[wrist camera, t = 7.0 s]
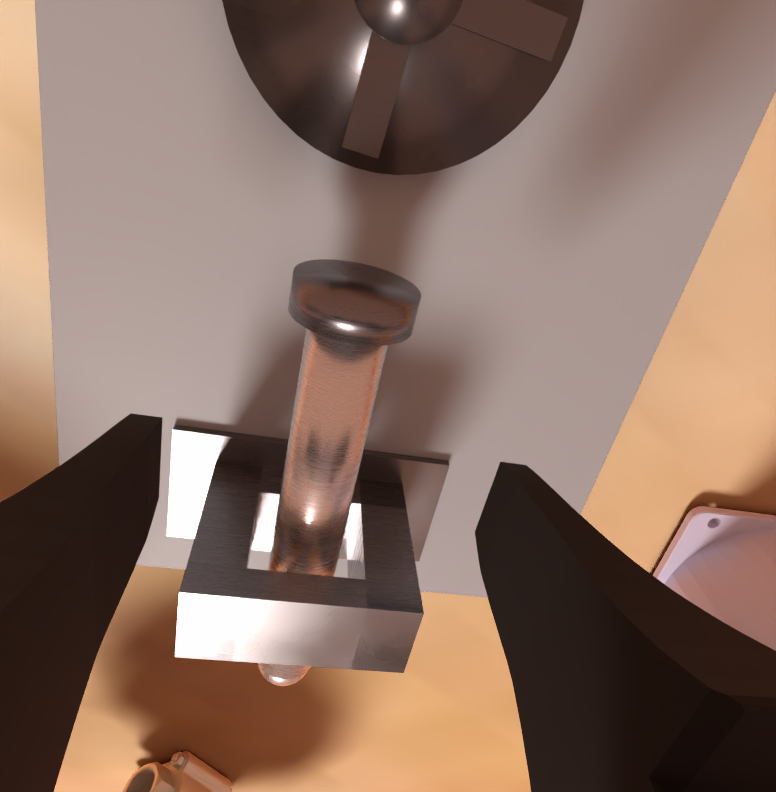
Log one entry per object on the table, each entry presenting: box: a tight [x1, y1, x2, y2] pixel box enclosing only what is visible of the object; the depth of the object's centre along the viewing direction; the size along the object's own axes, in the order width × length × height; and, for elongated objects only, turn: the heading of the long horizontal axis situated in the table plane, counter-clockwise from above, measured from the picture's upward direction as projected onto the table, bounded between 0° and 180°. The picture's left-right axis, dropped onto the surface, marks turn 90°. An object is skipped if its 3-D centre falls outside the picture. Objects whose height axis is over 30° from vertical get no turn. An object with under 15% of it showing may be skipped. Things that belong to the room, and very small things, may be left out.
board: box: [35, 0, 776, 597], centre depth 18 cm, size 18×24×1 cm
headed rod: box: [257, 259, 421, 686], centre depth 17 cm, size 3×14×3 cm, turn 168°
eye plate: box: [167, 425, 449, 673], centre depth 19 cm, size 9×4×6 cm, turn 78°
